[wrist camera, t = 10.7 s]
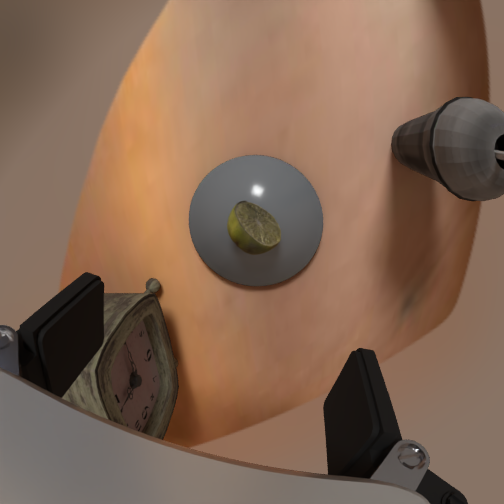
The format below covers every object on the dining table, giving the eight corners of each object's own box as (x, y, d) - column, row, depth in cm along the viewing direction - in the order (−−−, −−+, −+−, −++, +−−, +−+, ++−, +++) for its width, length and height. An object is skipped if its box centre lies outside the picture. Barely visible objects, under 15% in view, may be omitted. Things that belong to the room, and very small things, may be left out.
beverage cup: (449, 169, 28) (595, 210, 9) (392, 190, 29) (522, 257, 10) (428, 102, 26) (573, 77, 7) (367, 120, 27) (492, 93, 8)
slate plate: (206, 141, 29) (204, 141, 28) (338, 175, 29) (339, 176, 28) (181, 263, 34) (178, 267, 33) (299, 295, 34) (300, 299, 33)
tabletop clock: (189, 371, 38) (123, 545, 15) (128, 366, 39) (41, 512, 16) (167, 265, 34) (23, 442, 10) (99, 268, 35) (-53, 400, 11)
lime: (232, 196, 30) (223, 206, 25) (284, 202, 30) (284, 212, 25) (229, 241, 31) (220, 259, 27) (279, 247, 31) (278, 266, 26)
